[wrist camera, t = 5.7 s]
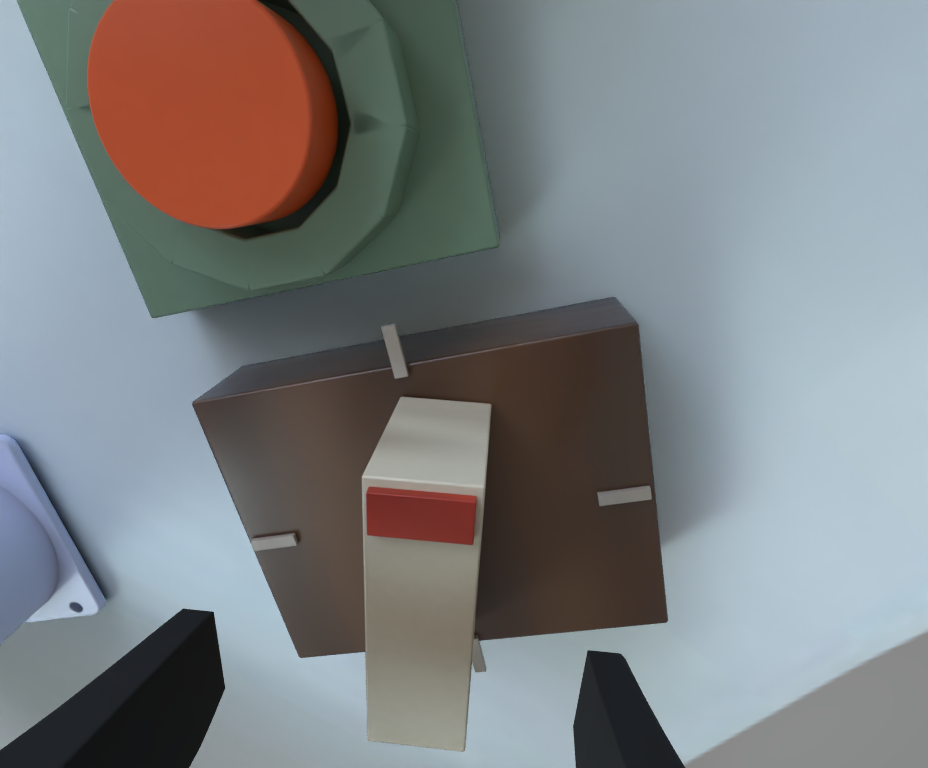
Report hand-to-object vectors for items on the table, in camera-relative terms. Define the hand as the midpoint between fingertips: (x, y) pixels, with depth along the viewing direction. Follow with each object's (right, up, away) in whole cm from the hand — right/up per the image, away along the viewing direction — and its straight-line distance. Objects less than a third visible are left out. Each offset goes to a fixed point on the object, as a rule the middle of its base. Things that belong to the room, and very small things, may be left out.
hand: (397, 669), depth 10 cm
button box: (-3, +13, +4) cm, 14 cm away
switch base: (+1, +3, +8) cm, 8 cm away
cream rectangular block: (+1, +2, +5) cm, 5 cm away
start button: (-4, +11, +2) cm, 12 cm away
